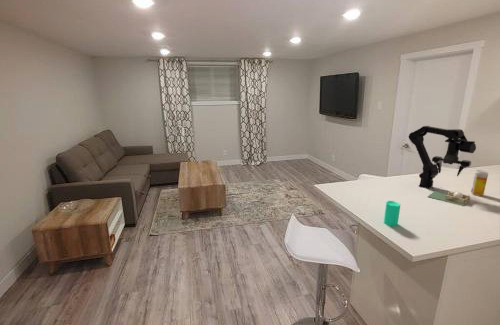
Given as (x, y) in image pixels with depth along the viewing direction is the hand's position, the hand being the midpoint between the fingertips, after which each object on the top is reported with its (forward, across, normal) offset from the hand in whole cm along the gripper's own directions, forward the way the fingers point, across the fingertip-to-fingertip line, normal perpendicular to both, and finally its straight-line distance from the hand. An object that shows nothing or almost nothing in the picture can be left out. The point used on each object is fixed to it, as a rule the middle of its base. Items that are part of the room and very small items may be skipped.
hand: (448, 174), depth 165 cm
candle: (+12, -6, -69) cm, 70 cm away
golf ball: (+9, +8, -9) cm, 15 cm away
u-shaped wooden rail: (+12, +8, -10) cm, 18 cm away
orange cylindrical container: (+12, +14, +11) cm, 22 cm away
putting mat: (+12, +4, -10) cm, 16 cm away
